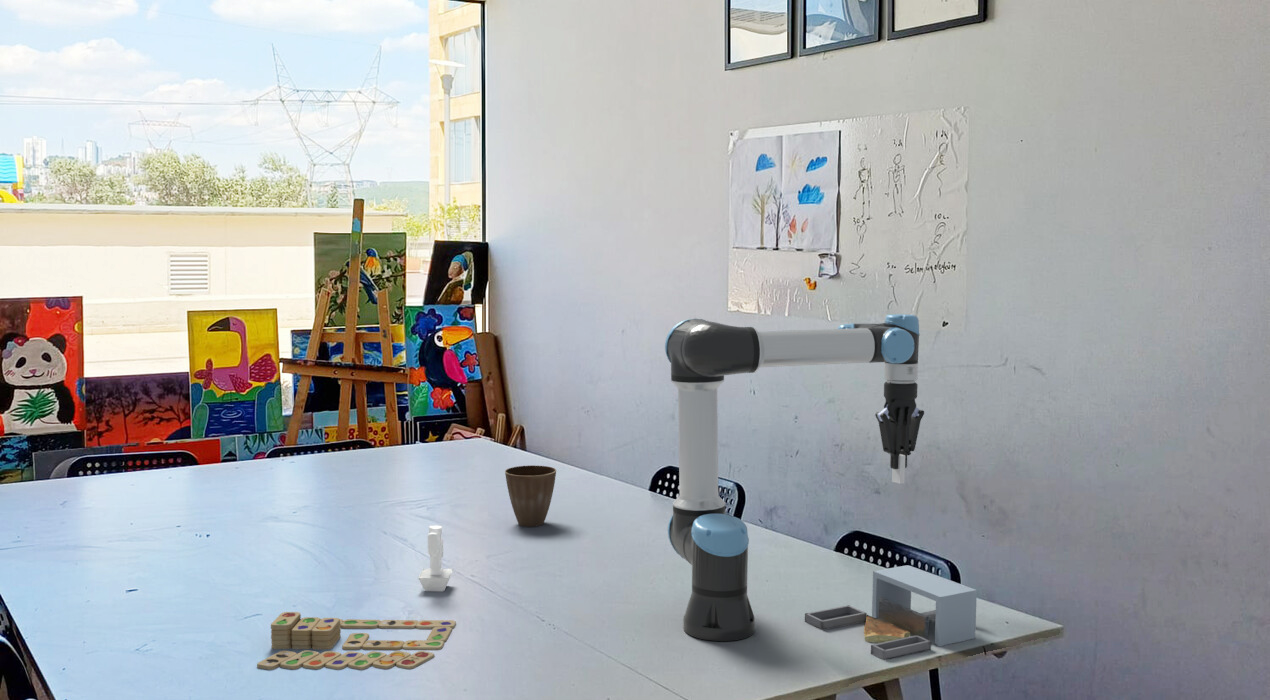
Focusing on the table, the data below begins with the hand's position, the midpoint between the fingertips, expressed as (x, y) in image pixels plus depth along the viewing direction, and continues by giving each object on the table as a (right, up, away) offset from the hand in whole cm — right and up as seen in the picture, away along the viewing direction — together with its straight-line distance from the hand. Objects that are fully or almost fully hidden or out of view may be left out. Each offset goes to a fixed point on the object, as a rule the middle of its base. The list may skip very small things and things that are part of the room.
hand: (898, 482), depth 252 cm
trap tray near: (-8, -30, -36) cm, 47 cm away
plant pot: (-92, -21, +67) cm, 115 cm away
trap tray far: (-18, -28, -18) cm, 37 cm away
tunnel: (0, -28, -21) cm, 35 cm away
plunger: (+2, -28, -20) cm, 35 cm away
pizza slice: (-11, -29, -25) cm, 40 cm away
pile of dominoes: (-117, -30, -32) cm, 125 cm away
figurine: (-108, -26, +5) cm, 111 cm away
